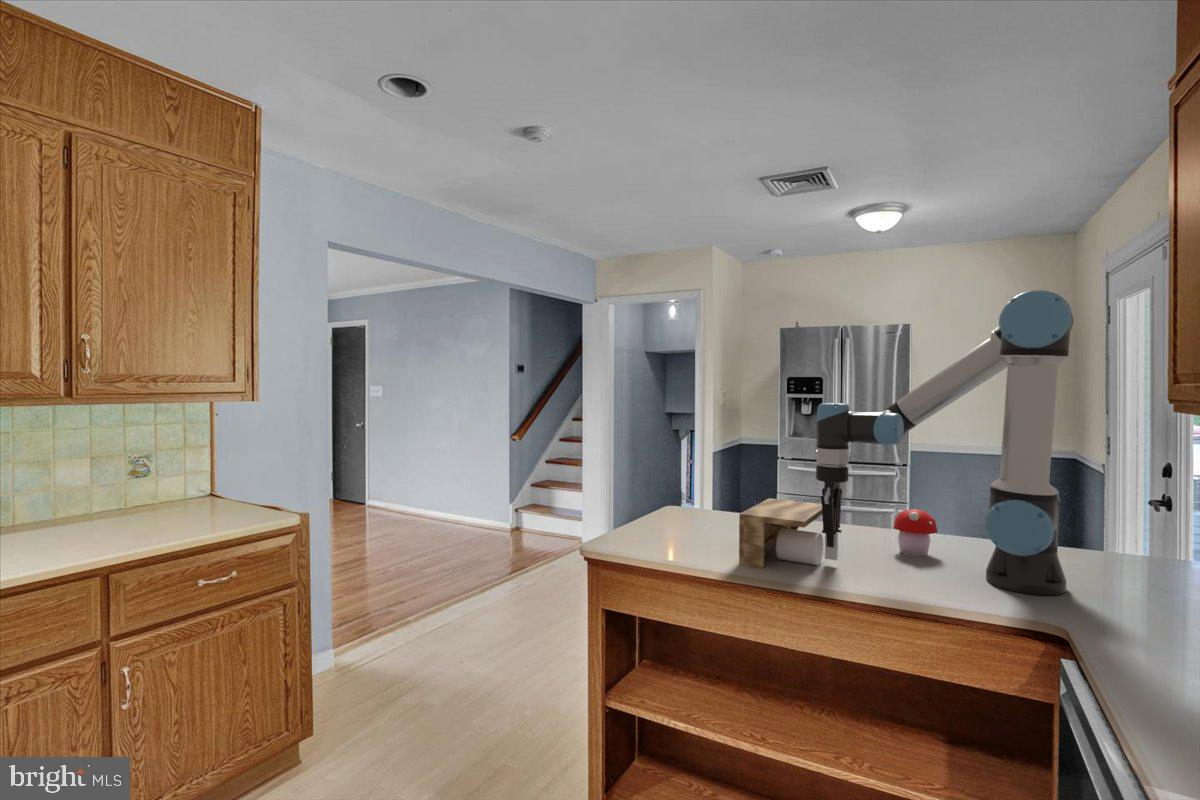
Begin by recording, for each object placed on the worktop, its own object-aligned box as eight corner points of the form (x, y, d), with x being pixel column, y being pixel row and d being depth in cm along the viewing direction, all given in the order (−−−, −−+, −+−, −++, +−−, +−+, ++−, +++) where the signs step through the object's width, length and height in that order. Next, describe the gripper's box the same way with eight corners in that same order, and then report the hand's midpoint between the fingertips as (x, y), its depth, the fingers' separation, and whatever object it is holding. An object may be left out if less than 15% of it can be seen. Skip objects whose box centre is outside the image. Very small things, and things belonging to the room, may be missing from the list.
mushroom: (901, 545, 175) (901, 503, 175) (943, 553, 167) (944, 509, 167) (886, 552, 168) (887, 508, 167) (930, 561, 160) (931, 515, 159)
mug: (815, 569, 153) (816, 536, 153) (775, 562, 159) (775, 531, 159) (826, 557, 164) (827, 527, 163) (788, 551, 169) (789, 522, 169)
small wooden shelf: (827, 552, 168) (828, 504, 168) (803, 575, 148) (804, 521, 148) (768, 543, 177) (769, 498, 176) (738, 564, 157) (739, 513, 156)
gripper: (822, 461, 163) (822, 550, 164) (810, 466, 152) (809, 562, 153) (853, 463, 159) (852, 554, 160) (842, 469, 148) (841, 567, 149)
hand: (831, 558), depth 156 cm, fingers closed
